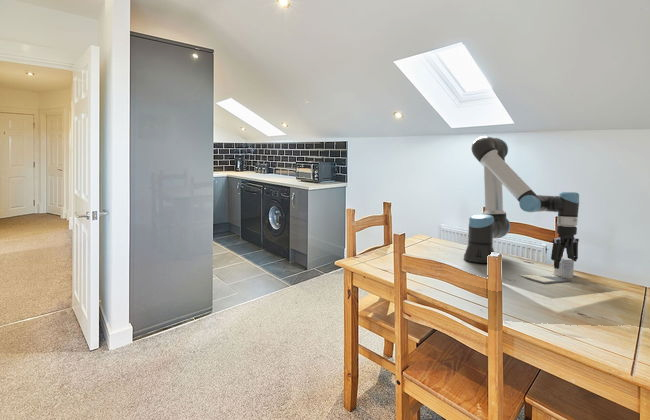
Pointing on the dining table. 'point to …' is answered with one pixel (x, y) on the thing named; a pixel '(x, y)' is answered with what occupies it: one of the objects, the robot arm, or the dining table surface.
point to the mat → (545, 279)
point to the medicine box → (567, 267)
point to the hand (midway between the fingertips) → (563, 274)
